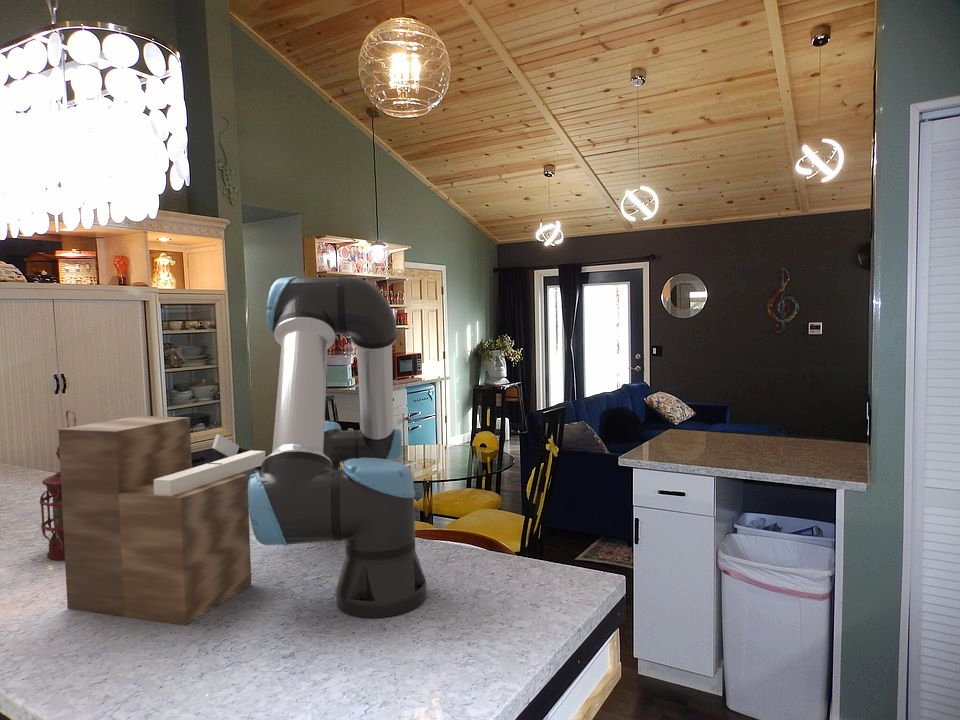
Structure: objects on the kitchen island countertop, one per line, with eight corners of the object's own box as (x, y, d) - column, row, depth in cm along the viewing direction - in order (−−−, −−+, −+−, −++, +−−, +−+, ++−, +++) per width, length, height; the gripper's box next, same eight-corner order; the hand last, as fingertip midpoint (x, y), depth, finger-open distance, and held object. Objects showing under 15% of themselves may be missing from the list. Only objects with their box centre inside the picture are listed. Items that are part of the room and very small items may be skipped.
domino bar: (251, 463, 121) (251, 449, 121) (265, 463, 120) (265, 450, 120) (154, 495, 98) (153, 478, 98) (170, 496, 97) (170, 479, 97)
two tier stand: (144, 571, 119) (137, 416, 118) (251, 584, 112) (245, 418, 111) (67, 608, 104) (58, 429, 102) (185, 625, 97) (177, 433, 95)
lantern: (118, 550, 131) (111, 409, 130) (48, 567, 123) (40, 415, 121) (102, 537, 140) (96, 404, 138) (37, 552, 131) (29, 410, 130)
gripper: (349, 495, 130) (297, 464, 112) (248, 489, 137) (184, 458, 119) (357, 461, 134) (308, 425, 115) (258, 456, 141) (197, 422, 123)
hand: (245, 442), depth 117 cm, fingers open, 13 cm apart
